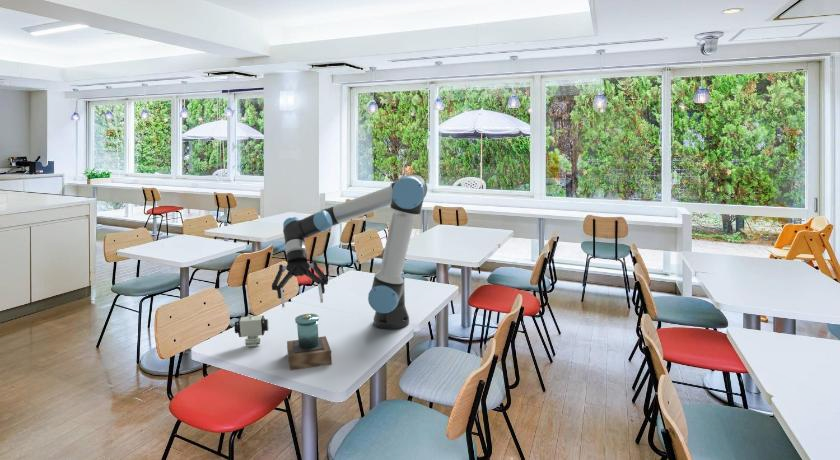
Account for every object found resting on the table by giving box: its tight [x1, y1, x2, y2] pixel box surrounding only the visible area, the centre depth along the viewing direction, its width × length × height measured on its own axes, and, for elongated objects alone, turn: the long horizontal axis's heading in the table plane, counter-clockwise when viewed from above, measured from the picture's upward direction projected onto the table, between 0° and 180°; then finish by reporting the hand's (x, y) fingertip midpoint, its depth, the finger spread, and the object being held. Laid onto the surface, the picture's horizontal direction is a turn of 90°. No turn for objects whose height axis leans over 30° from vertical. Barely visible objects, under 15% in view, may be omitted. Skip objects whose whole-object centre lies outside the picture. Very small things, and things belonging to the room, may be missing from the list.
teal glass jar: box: [294, 313, 320, 349], centre depth 175 cm, size 8×8×11 cm
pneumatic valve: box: [233, 314, 269, 348], centre depth 189 cm, size 6×12×12 cm, turn 101°
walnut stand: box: [286, 335, 333, 371], centre depth 176 cm, size 14×14×5 cm
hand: (302, 303), depth 178 cm, fingers open, 13 cm apart
